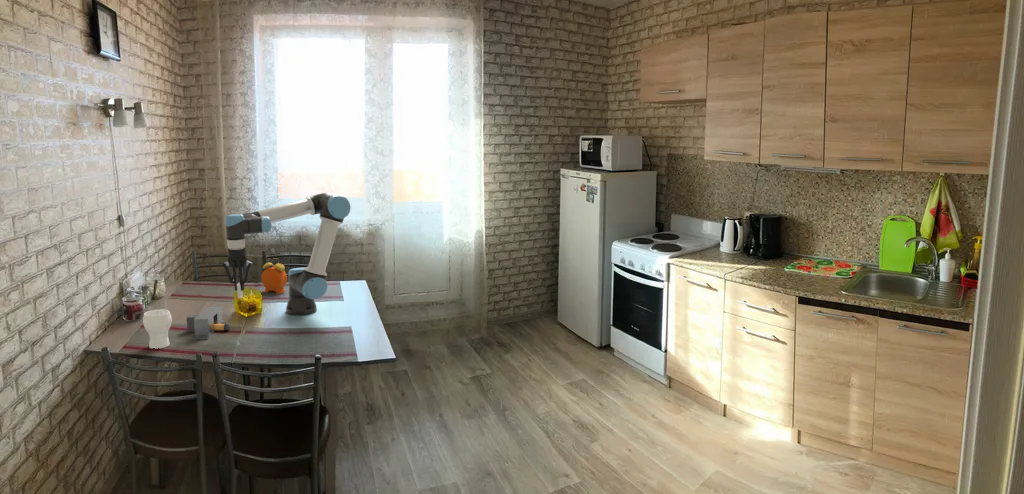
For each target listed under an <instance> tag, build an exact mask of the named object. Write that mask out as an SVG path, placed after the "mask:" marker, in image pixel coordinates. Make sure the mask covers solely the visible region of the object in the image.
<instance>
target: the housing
mask: <svg viewBox="0 0 1024 494" xmlns="http://www.w3.org/2000/svg"><path fill="white" fill-rule="evenodd" d="M197 315H198V316H197V317H196V318H195V319H194V328H195V332H194V335H193V336H192V337H191V339H192V340H209V339H210V338H211V336H212V335H213V334H214V333H215V330H214V324H225V323H226V320H223V307H222V306H208V307H207V308H205V309H204V310H203V311H202V312H201V313H199V314H197Z"/></svg>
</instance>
